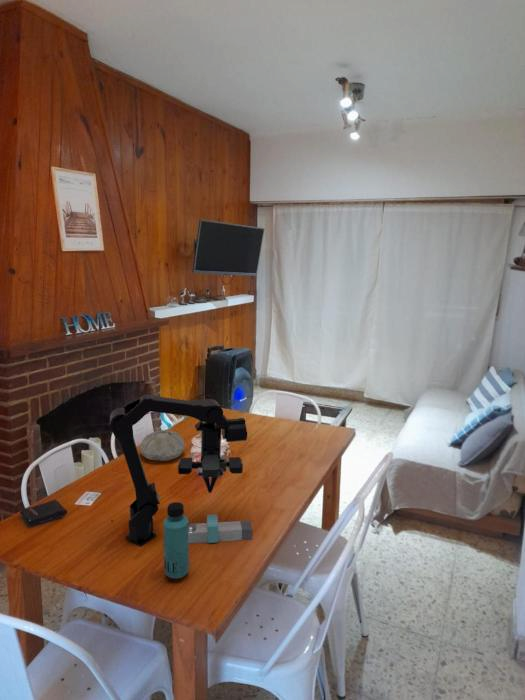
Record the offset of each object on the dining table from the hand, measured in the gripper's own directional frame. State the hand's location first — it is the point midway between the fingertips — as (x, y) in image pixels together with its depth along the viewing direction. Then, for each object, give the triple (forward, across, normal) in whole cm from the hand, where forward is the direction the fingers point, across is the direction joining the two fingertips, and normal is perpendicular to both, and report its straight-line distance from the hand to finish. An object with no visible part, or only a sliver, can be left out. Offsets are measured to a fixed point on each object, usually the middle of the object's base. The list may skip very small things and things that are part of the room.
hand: (210, 492), depth 142 cm
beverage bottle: (+12, -8, -22) cm, 26 cm away
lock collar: (+11, +1, -5) cm, 13 cm away
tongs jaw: (+12, +3, -4) cm, 12 cm away
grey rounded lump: (+12, -19, +53) cm, 57 cm away
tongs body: (+12, +2, -5) cm, 13 cm away
